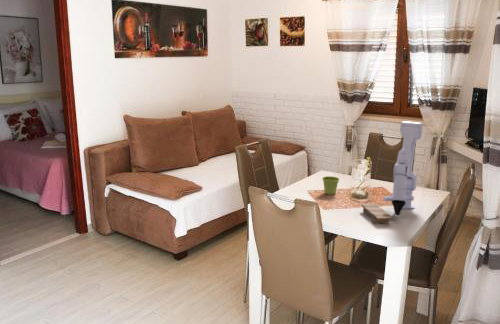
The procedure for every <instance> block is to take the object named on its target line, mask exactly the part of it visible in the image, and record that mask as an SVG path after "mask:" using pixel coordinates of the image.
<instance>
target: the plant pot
mask: <svg viewBox="0 0 500 324" xmlns="http://www.w3.org/2000/svg"><path fill="white" fill-rule="evenodd" d="M322 181H323V189H324V194H326V195H329V196H333V195H335V194H336V192H337V187H338V183H339V182H340V178H339V177H337V176H324V177H322Z"/></svg>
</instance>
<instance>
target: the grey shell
mask: <svg viewBox="0 0 500 324" xmlns="http://www.w3.org/2000/svg"><path fill="white" fill-rule="evenodd" d="M383 210H384V209H383ZM384 211H386V212H387V213H388V214H390V215H391V216H392V217H393V219H390V221H395V220H396V219H397V215H395V213H394V212H392V211H391V210H389V209H386V210H384Z"/></svg>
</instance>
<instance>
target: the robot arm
mask: <svg viewBox="0 0 500 324" xmlns="http://www.w3.org/2000/svg"><path fill="white" fill-rule="evenodd" d="M399 132H400V134H401V136H402V137H401V138H403V139H402V147H401V149H399V151H398V153H397V159H396V162H395V163H394V166H393V188H392V195H387V196H386V195H385V196H383V202H391V204H392V206H393V210H394V215H396V216H400V215H401V212H402V210H404V209H405V210H407V209H408V210H409V209H415V207H414V206H412V201H414V200H415V199H414V198H415V196H414V195H413V191H415V190H416V188H417V184H418V183H417V180H418V179H417V178H418V177H417V175H416V174H415V173H414V172H413V166H414V165H413V164H414V158H415V150H416V143H417V141H418V140H420V139H421V138H422V133H423V123H422V122H416V121H405V120H403V121H401V124H400V130H399Z"/></svg>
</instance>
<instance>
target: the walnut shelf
mask: <svg viewBox="0 0 500 324" xmlns="http://www.w3.org/2000/svg"><path fill="white" fill-rule="evenodd" d="M360 206H361V207H362V209H363V210H362V213H363V214H364V215H366V216H368V217H369V218H370V219H371V220H372V222H373V223H374V224H377V223H379V224H381V223H390V221H391V220H390V219H393V217H392V216H391V215H390V214H388V213H387V212H386V211H384V209H383V208H382V207H380V206H379V204H377V203H361V204H360Z"/></svg>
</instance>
